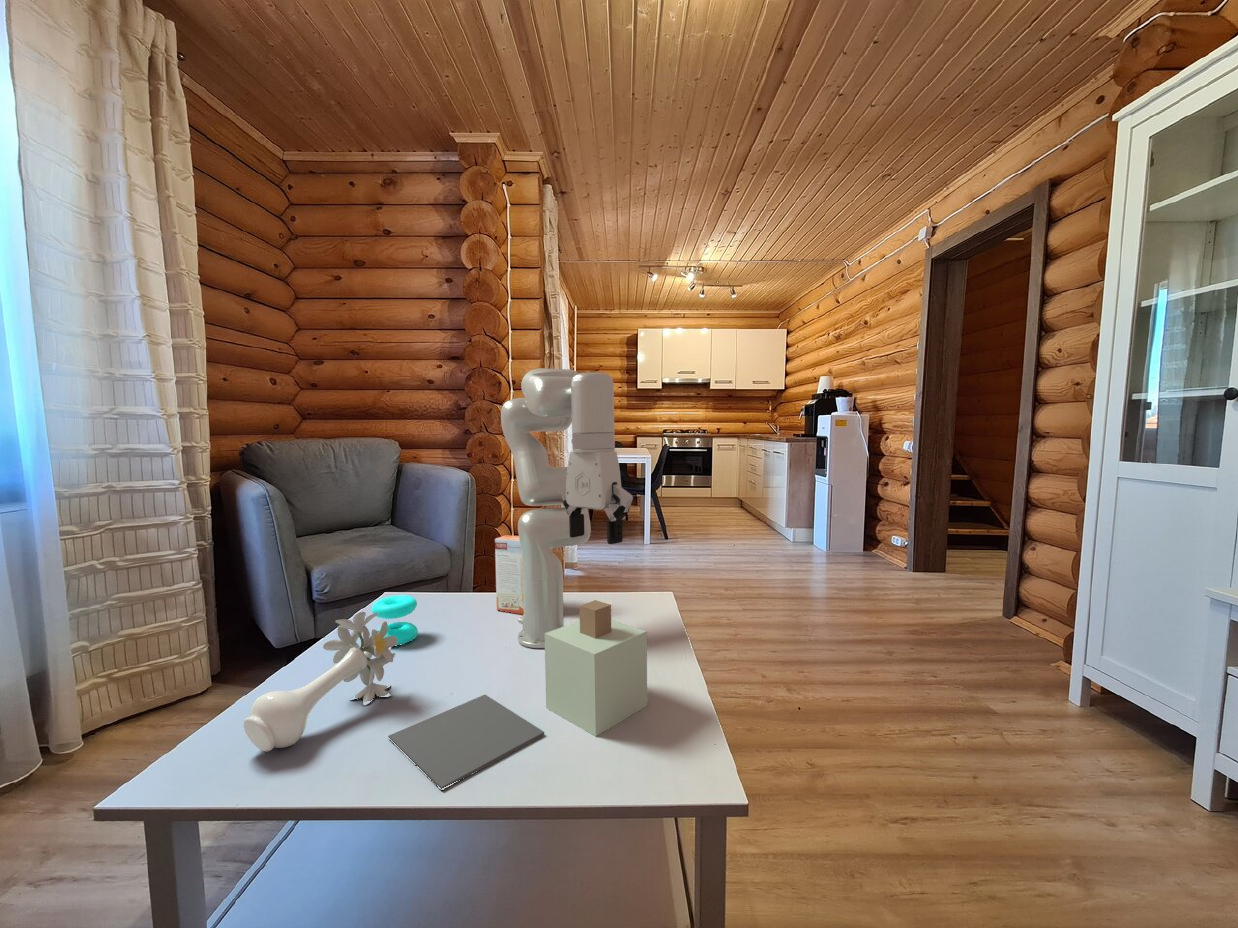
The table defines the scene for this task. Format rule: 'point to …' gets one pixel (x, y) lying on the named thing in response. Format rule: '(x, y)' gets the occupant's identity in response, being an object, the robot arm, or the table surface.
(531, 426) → the robot arm
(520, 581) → the cracker box
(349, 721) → the table surface
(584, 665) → the pale green block
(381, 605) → the donuts
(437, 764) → the mat
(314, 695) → the flower vase
